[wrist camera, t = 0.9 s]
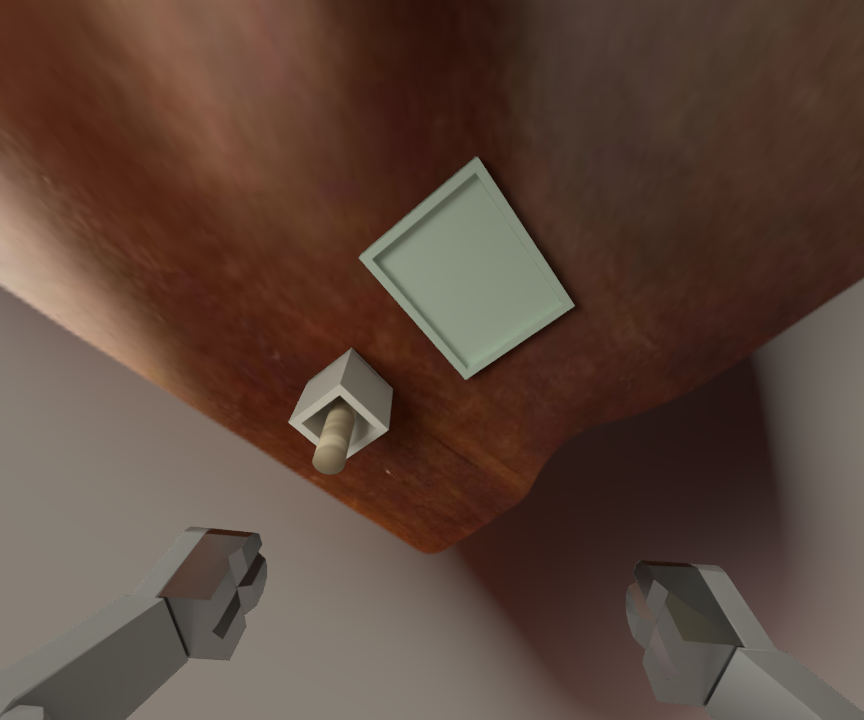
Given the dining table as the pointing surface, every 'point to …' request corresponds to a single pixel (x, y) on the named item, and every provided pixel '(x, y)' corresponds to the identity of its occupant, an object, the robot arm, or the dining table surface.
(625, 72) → the dining table surface
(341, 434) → the dowel
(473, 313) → the tray
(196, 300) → the dining table surface
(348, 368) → the cup
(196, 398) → the dining table surface
